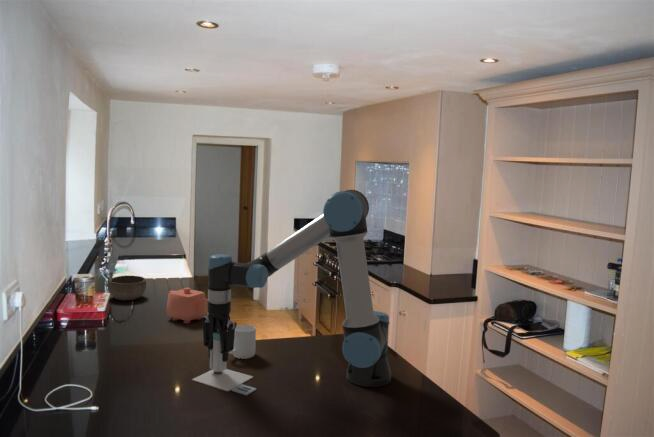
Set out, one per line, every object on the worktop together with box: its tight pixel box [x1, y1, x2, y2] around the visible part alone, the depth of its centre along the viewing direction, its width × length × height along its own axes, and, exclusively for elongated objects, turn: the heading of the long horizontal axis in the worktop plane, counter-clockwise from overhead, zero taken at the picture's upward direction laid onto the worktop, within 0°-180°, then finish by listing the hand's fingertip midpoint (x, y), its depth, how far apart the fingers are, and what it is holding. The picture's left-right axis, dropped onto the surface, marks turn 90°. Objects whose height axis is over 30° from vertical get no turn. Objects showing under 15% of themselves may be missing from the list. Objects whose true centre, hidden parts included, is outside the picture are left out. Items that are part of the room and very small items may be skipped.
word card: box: [230, 383, 257, 396], centre depth 166 cm, size 6×5×1 cm
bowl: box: [108, 275, 147, 302], centre depth 265 cm, size 17×18×10 cm
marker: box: [212, 331, 223, 374], centre depth 178 cm, size 4×4×14 cm
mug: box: [228, 324, 257, 360], centre depth 194 cm, size 12×8×10 cm
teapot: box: [166, 287, 209, 325], centre depth 235 cm, size 22×13×14 cm, turn 61°
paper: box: [191, 368, 254, 392], centre depth 174 cm, size 15×13×1 cm
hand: (218, 368), depth 178 cm, fingers closed on marker, 3 cm apart
